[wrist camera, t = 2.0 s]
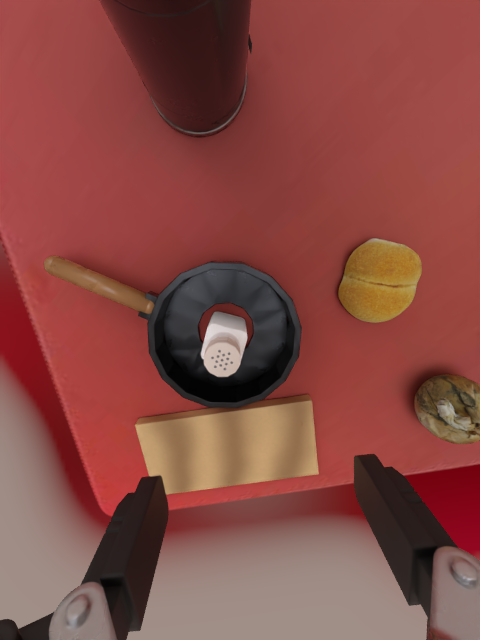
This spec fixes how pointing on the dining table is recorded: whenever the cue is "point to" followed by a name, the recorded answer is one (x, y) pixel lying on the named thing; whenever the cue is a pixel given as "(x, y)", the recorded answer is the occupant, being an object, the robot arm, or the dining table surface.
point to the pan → (183, 332)
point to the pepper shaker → (224, 344)
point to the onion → (450, 408)
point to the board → (230, 444)
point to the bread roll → (379, 280)
